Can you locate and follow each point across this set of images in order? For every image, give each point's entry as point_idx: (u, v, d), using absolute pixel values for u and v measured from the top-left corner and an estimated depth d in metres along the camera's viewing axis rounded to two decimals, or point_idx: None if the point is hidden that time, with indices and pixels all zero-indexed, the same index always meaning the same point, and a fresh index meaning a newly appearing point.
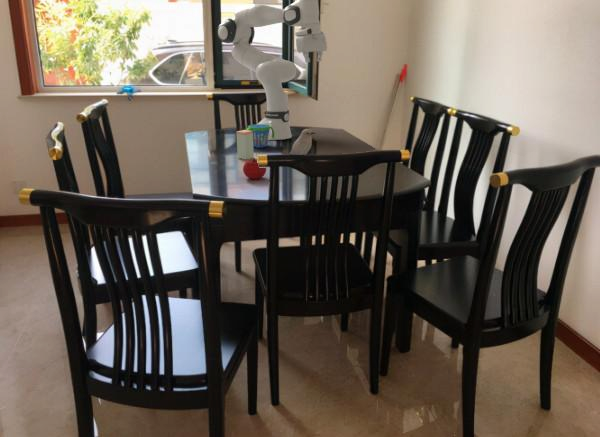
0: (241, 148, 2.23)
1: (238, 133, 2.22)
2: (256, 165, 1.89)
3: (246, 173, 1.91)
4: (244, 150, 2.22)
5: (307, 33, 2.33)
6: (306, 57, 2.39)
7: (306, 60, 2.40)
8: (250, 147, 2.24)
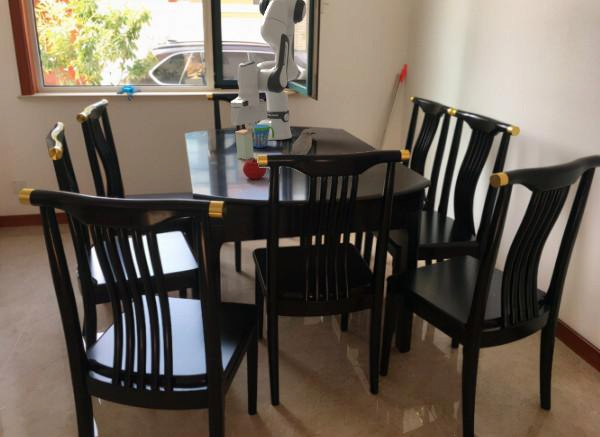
0: (241, 148, 2.23)
1: (237, 134, 2.21)
2: (256, 165, 1.89)
3: (246, 173, 1.91)
4: (244, 150, 2.22)
5: (243, 106, 2.14)
6: (248, 128, 2.23)
7: None
8: (250, 147, 2.24)
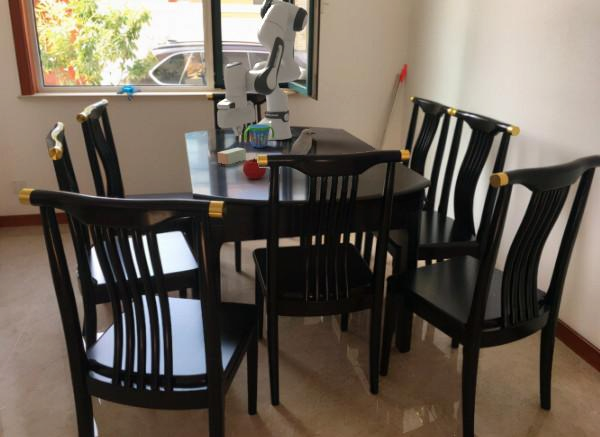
0: None
1: None
2: (256, 165, 1.89)
3: (246, 173, 1.91)
4: None
5: (229, 108, 2.08)
6: (235, 130, 2.17)
7: (235, 133, 2.18)
8: (237, 155, 2.18)
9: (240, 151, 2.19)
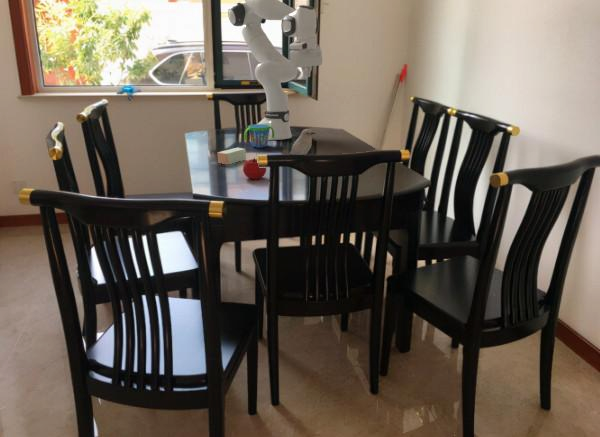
0: None
1: None
2: (256, 165, 1.89)
3: (246, 173, 1.91)
4: None
5: (302, 48, 2.19)
6: (304, 72, 2.29)
7: (304, 75, 2.30)
8: (237, 155, 2.18)
9: (240, 151, 2.19)
